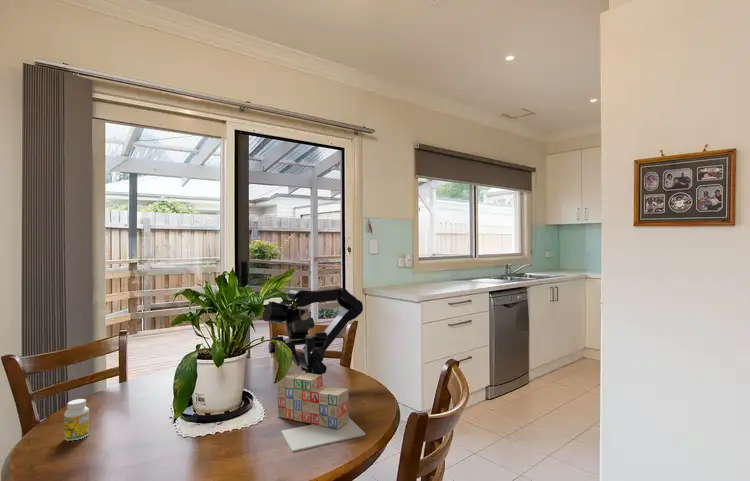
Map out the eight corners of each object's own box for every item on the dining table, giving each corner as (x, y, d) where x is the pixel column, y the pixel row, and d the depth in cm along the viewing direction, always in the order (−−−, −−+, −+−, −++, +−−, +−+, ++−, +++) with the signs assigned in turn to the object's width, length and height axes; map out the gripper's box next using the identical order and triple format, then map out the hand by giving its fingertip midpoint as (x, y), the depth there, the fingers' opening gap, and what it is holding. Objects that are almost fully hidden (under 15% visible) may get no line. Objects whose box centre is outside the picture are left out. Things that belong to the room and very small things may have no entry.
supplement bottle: (93, 434, 110) (94, 398, 110) (73, 443, 104) (74, 406, 105) (79, 431, 111) (79, 396, 111) (58, 440, 106) (59, 404, 106)
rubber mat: (281, 432, 110) (281, 430, 110) (348, 418, 119) (348, 417, 119) (292, 452, 100) (292, 450, 100) (365, 435, 108) (365, 433, 108)
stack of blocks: (349, 421, 116) (348, 378, 116) (337, 430, 110) (336, 384, 111) (290, 409, 126) (290, 369, 126) (277, 416, 120) (277, 375, 121)
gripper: (270, 311, 128) (277, 355, 118) (326, 307, 136) (337, 347, 126) (265, 332, 135) (272, 374, 125) (318, 327, 143) (329, 366, 133)
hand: (303, 365), depth 127 cm, fingers open, 3 cm apart
